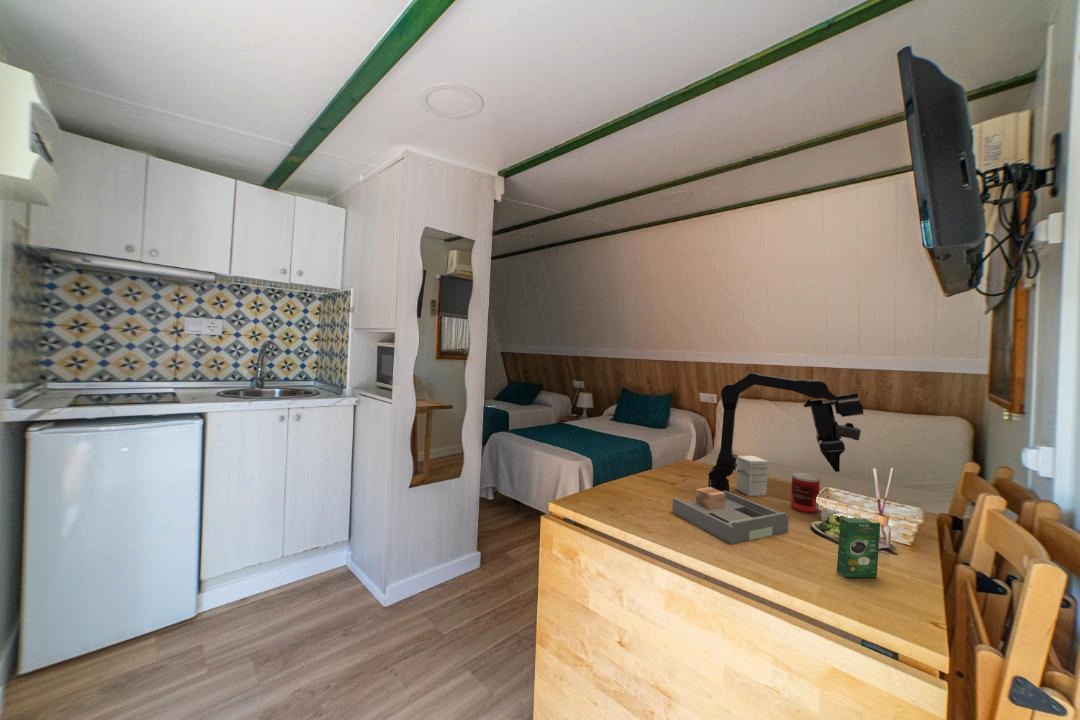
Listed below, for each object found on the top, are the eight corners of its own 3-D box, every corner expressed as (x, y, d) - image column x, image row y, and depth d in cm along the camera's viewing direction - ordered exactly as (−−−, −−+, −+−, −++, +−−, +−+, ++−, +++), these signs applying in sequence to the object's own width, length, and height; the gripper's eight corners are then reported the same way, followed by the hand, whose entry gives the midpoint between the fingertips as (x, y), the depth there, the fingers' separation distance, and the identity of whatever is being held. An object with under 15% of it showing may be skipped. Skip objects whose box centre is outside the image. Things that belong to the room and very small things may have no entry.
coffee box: (868, 571, 101) (871, 516, 100) (878, 578, 98) (881, 522, 97) (835, 571, 100) (838, 516, 100) (845, 578, 97) (848, 522, 97)
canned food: (810, 505, 143) (811, 473, 143) (823, 514, 135) (825, 480, 135) (786, 504, 144) (787, 471, 144) (798, 513, 136) (799, 479, 136)
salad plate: (918, 552, 112) (919, 535, 112) (869, 561, 107) (870, 542, 107) (846, 522, 130) (846, 507, 130) (801, 528, 125) (802, 513, 125)
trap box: (672, 512, 134) (673, 495, 134) (724, 503, 143) (724, 487, 143) (731, 544, 113) (732, 523, 113) (787, 531, 122) (788, 512, 122)
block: (695, 502, 136) (696, 489, 136) (709, 500, 138) (710, 486, 138) (710, 509, 130) (710, 495, 130) (724, 507, 133) (725, 493, 133)
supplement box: (735, 489, 158) (736, 455, 157) (753, 488, 159) (754, 455, 159) (748, 496, 151) (750, 461, 150) (767, 495, 152) (768, 460, 152)
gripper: (859, 419, 123) (872, 473, 122) (850, 411, 139) (862, 459, 138) (814, 424, 128) (826, 476, 127) (811, 416, 145) (822, 462, 143)
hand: (835, 468), depth 134 cm, fingers open, 9 cm apart
